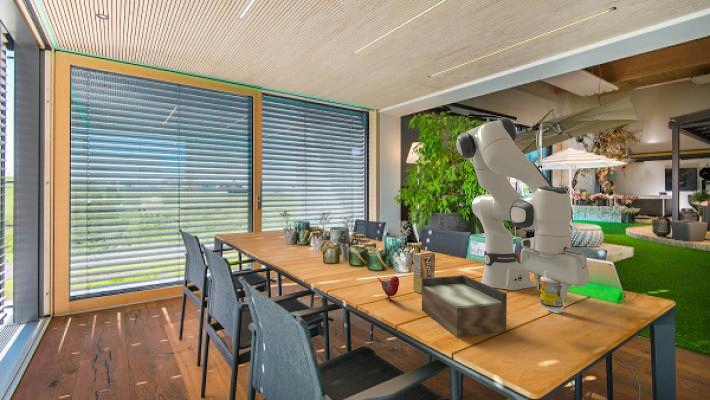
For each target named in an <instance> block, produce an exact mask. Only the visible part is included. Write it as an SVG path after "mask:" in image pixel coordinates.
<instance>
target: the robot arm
mask: <svg viewBox="0 0 710 400" xmlns="http://www.w3.org/2000/svg"><path fill="white" fill-rule="evenodd" d="M516 139H517V128H516V125H515V124H514V123H513V121H512V120H511V119H509V118H500V119H498V120H494V121H490V122H486V123H483V124H481V125H479V126H476V127H474V128H472V129H469V130H467V131H466V130H465V131H463V132H462V133H460V134H459V135H457V138H456V143H455V144H456V150H457V151H458V153H459V154H460V155H461V157H462V158H464V159H472V162H473V163H472V164H473V167H474V171H475V175H476V177H477V182H478V185H479V186H480V187H481V189H483V190H485V191H487V192H488V193H485V194H481V195H477V196H475V197H474V198H473V200H472V202H471V211H472V213H473V214H474V215H475V216H476V217H477V218H478V219H479V221H480V223H481V226H482V228H483V232H484V241H485V242H484V244H485V245H484V251H483V261H484V267H483V273H482V277H481V280H480V282H481V283H483V284H486V285H488V286H490V287H492V288H495V289H500V290H501V289H502V290H508V291H518V290H523V289H530V288H535V287H537V290H539V291H540V279H541V277H542V276H544V271H548V272H549V278H551V279H554V280H557V281H560V282H561V284H560V285H561V286H562V288H561V290H557V293H558V294H557V296H558V297H560V298H564V299H566V298H567V297H568V291H569V290H570V288H571V287H572V286H573V287H579V288H580V287H586V286H588V284H589V283H590V275H589V274H590V273H589V267H588V263H587V261H588V260H587V256H586V254H585V253H584V252H583V251H582V250H580V249H574V248H571V247H572V233H571V229H570V224H571V221H572V219H573V216H574V210H573V207H572V203H571V197H570V194H569V191H568V190H567V189H565V188H562V187H560V186H559V187H558V186H553V185H552V183H551V182H550V180H549V179H548V178H547V177H546V175H545V174H544V173H543V172H542V170H541V169H540V168H539V167H538V165H537V164H536V163H535V162H534V161H533V160H531V159H530V158H529V157H528V156H526V154H524V153H523V152H522V151H521V150H520V149H519V148H518V146H517V145H516V143H515V141H516ZM509 178H513V179H514V180H517V181H520V182H522V183H524V184H525V185H526V186H527V187H528V189H529V190H530V192H531V194H530V195H527V196H524V195H523V194H521V193H520V192H519V191H517V190H516V188H514V187H513V185H512V184H511V182H510V181H509ZM504 221H510V222H511V223H512V224H513V226H514V227H516V228H517V229H522V230H534V236H533V237H529V238H524V239H521V241H520V246H521V247H522V248H521V250H520V253H519V252H518V253H514V235H513V233H512V231H510V230H509V229H507V228H506V226H505V225H504ZM517 259H519V260H520V262H518V261H517ZM531 273H533V274H534V275H533V277H534V279H535V281H533V280H531ZM544 277H545V276H544Z"/></svg>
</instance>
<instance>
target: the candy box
mask: <svg viewBox="0 0 710 400" xmlns="http://www.w3.org/2000/svg"><path fill="white" fill-rule="evenodd" d="M435 266H436V253H435V252H433V251H423V252H417V253H413V276H412V277H413V279H412V281H413V282H412V283H413V284H412V285H413V287H412V291H413V292H414V293H415V292H416V293H419V294H422V278H431V277H435V275H436V274H435V271H436V268H435Z"/></svg>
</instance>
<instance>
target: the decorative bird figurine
mask: <svg viewBox="0 0 710 400" xmlns="http://www.w3.org/2000/svg"><path fill="white" fill-rule="evenodd" d="M377 279H378V281H379V282H380V284H381V288H382V290H383V291H384V293H385V294H386V295H387V297H386V299H387V300H389V301H390V302H394V300H393V299H392V298H391V297H394V296H396V295H397V293H398V290H399V286H400V279H399V277H398V276H396V275H395V276H392V277H391V278H390V279H386V280H382V279H381V278H380V277H379V276H377Z"/></svg>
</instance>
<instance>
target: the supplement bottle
mask: <svg viewBox="0 0 710 400" xmlns="http://www.w3.org/2000/svg"><path fill="white" fill-rule="evenodd" d="M544 276H545V277H544ZM544 276H542V277H541V279H540V290H539V291H540V293H539V294H540V295H539V296H540V302H539V303H540V305H541V306H542V307H543V308H545V309H546V308H548V309H561V308H563V298H560V297H558V296H557V294H558V293H557V290H561V288H562V286H561V285H560V284H561V282H560V281H557V280H554V279H551V278H549V272H548V271H544Z"/></svg>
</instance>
